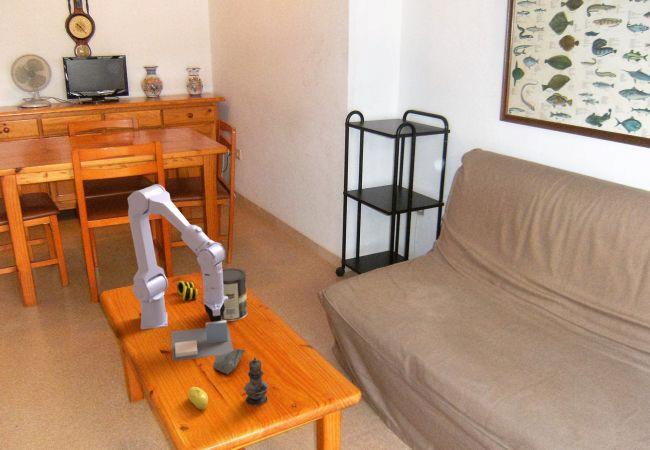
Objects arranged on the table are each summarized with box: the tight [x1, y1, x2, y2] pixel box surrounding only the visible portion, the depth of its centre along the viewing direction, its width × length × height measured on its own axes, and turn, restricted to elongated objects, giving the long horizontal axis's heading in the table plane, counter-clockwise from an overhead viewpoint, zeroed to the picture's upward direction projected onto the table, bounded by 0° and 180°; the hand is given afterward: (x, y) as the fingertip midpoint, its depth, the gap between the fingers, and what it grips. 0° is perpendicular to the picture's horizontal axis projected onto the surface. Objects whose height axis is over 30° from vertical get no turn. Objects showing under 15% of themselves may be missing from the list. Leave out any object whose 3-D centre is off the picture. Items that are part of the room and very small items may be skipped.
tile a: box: [175, 340, 198, 358], centre depth 170 cm, size 2×6×6 cm
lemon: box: [188, 386, 209, 410], centre depth 147 cm, size 4×8×4 cm, turn 29°
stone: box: [212, 348, 246, 376], centre depth 162 cm, size 11×4×10 cm
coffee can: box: [221, 267, 248, 322], centre depth 191 cm, size 10×10×14 cm
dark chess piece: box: [243, 357, 269, 407], centre depth 147 cm, size 6×6×12 cm
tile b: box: [205, 320, 228, 344], centre depth 175 cm, size 2×6×6 cm, turn 104°
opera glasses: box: [176, 280, 198, 302], centre depth 205 cm, size 10×5×5 cm, turn 27°
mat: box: [170, 324, 234, 362], centre depth 175 cm, size 17×17×1 cm
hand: (216, 327), depth 177 cm, fingers closed
